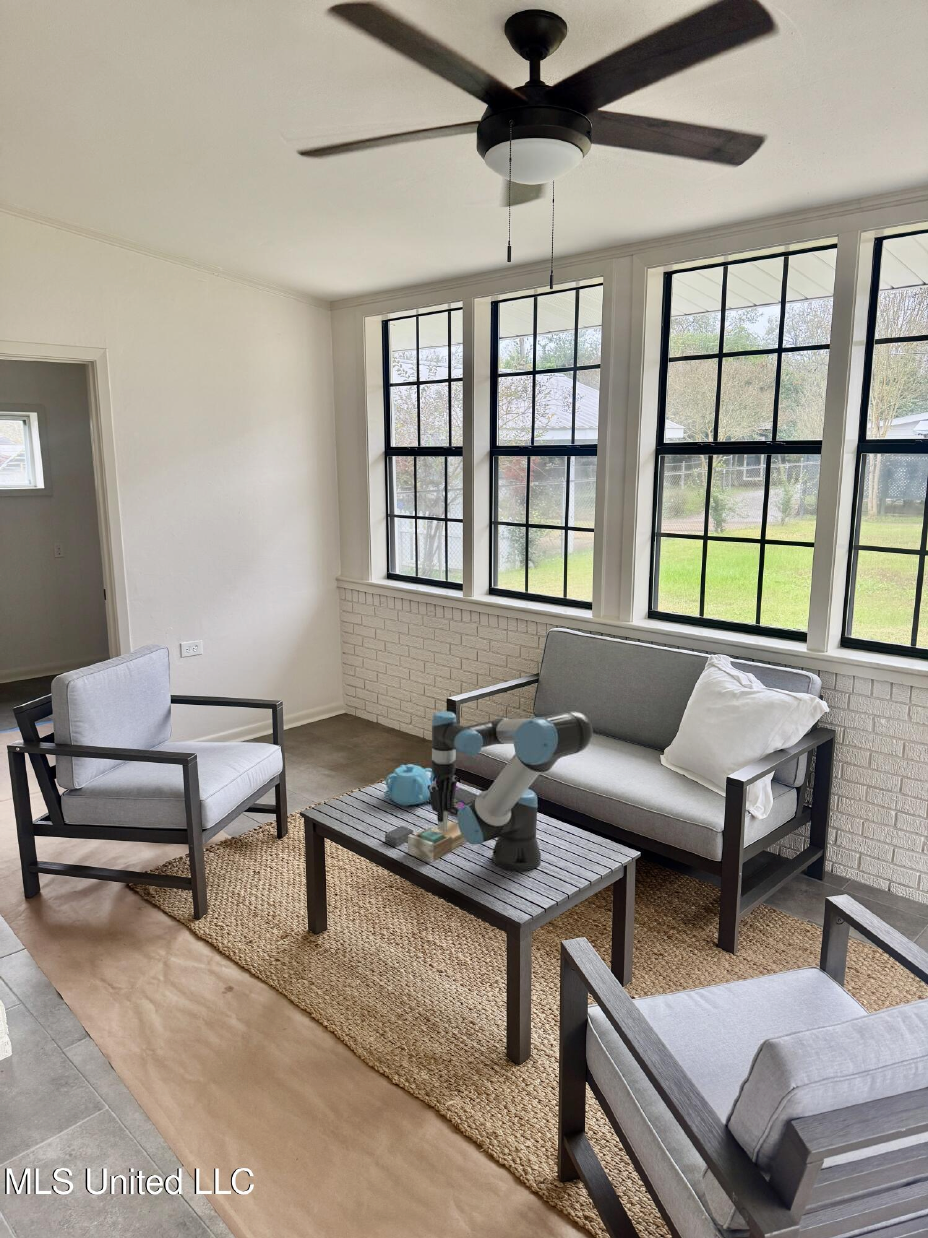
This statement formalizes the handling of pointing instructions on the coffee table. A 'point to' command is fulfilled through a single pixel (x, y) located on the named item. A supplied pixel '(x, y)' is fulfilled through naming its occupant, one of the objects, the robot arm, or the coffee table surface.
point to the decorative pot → (409, 785)
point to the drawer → (439, 849)
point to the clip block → (431, 836)
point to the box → (461, 799)
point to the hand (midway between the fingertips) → (442, 829)
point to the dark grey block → (398, 836)
